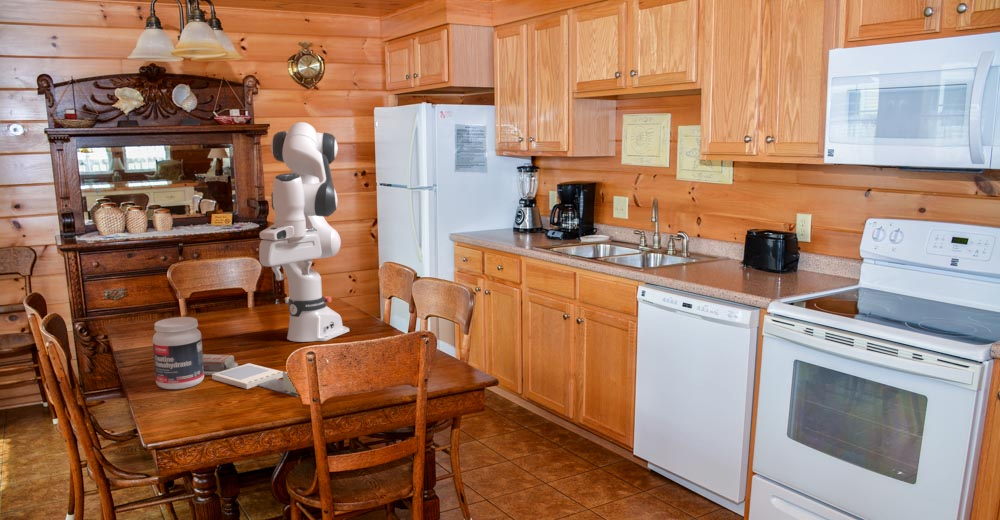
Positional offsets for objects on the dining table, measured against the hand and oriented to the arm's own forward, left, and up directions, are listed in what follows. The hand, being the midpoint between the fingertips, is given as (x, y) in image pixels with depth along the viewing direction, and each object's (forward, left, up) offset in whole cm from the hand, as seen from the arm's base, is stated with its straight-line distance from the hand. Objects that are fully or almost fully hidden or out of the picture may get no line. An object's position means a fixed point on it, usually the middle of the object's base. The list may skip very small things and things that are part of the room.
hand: (292, 277), depth 222 cm
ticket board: (+11, 0, -29) cm, 31 cm away
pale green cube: (+11, +13, -29) cm, 34 cm away
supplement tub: (+25, -21, -29) cm, 44 cm away
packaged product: (+13, -28, -30) cm, 43 cm away
